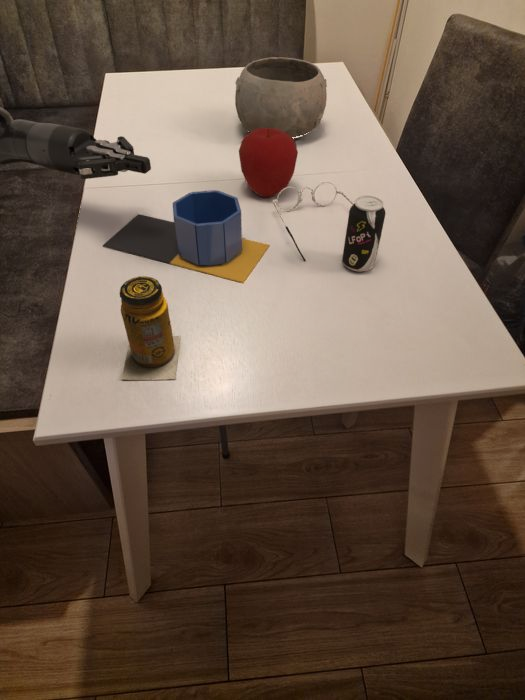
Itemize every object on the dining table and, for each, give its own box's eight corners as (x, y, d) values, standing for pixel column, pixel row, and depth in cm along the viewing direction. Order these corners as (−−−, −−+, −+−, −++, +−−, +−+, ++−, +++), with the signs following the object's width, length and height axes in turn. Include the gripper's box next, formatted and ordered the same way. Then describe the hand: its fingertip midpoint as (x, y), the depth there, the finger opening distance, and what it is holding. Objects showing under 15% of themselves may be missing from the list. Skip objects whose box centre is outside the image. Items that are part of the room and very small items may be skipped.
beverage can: (379, 272, 83) (393, 209, 75) (347, 276, 82) (358, 213, 74) (367, 253, 87) (379, 191, 79) (337, 257, 86) (346, 195, 78)
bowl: (273, 158, 114) (274, 90, 104) (217, 128, 127) (213, 64, 116) (341, 134, 125) (350, 69, 114) (284, 108, 137) (286, 48, 126)
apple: (306, 197, 102) (311, 132, 92) (258, 211, 97) (258, 145, 88) (275, 174, 109) (277, 112, 99) (230, 186, 104) (227, 123, 95)
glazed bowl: (180, 270, 83) (174, 227, 77) (177, 235, 90) (171, 193, 84) (244, 264, 84) (244, 221, 78) (236, 230, 92) (235, 188, 86)
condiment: (180, 336, 72) (170, 270, 63) (175, 379, 66) (163, 313, 57) (131, 337, 72) (114, 271, 63) (121, 381, 66) (101, 314, 57)
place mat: (102, 246, 88) (102, 245, 88) (138, 215, 96) (138, 213, 96) (243, 283, 81) (243, 281, 81) (269, 246, 89) (269, 244, 88)
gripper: (28, 140, 77) (120, 159, 73) (80, 113, 86) (165, 128, 81) (43, 185, 82) (130, 205, 78) (90, 155, 91) (171, 171, 87)
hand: (148, 165), depth 80 cm, fingers closed
